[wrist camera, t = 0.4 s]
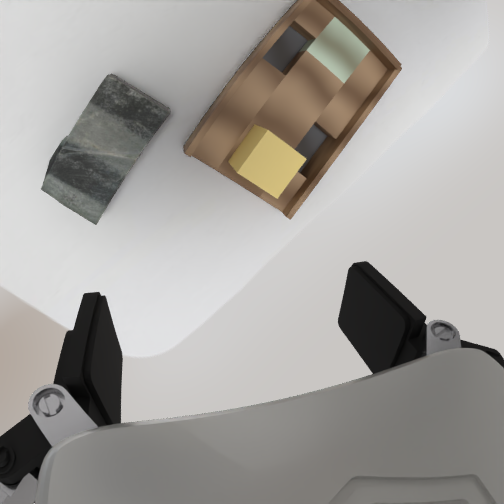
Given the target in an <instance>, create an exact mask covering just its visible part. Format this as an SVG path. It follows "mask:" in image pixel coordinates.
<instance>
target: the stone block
mask: <svg viewBox="0 0 504 504" xmlns="http://www.w3.org/2000/svg"><path fill="white" fill-rule="evenodd" d="M169 114H170V109H169V108H167V107H166V106H164V105H163V104H161V103H159V102H158V101H156V100H154V99H153V98H151V97H150V96H148V95H146V94H145V93H143V92H141V91H140V90H138V89H137V88H135V87H133V86H132V85H130V84H128V83H126V82H125V81H123V80H122V79H120V78H119V77H117V76H116V75H113V74H110V75H107V76H106V78H105V79H104V81H103V82H102V83H101V85H100V87H99V88H98V90H97V91H96V93H95V94H94V96H93V97H92V99H91V100H90V102H89V104H88V105H87V107H86V108H85V110H84V111H83V113H82V115H81V116H80V118H79V120H78V121H77V123H76V124H75V126H74V128H73V129H72V131H71V133H70V134H69V136H67V137H65V138H64V139H63V140H62V142H61V143H60V145H59V146H58V148H57V149H56V151H55V153H54V154H53V156H52V158H51V159H50V162H49V165H48V169H47V172H46V175H45V179H44V182H43V186H42V188H41V190H43V191H44V192H46V193H47V194H49V195H50V196H52V197H53V198H55V199H56V200H57V201H58V202H60V203H61V204H63V205H64V206H66V207H67V208H69V209H71V210H72V211H74V212H76V213H78V214H79V215H80V216H82V217H84V218H85V219H87V220H88V221H90V222H92V223H94V224H95V225H96V224H97V223H98V221H99V219H100V218H101V216H102V214H103V213H104V211H105V209H106V207H107V206H108V204H109V202H110V201H111V199H112V197H113V196H114V194H115V193H116V191H117V189H118V188H119V186H120V185H121V183H122V181H123V180H124V178H125V177H126V175H127V174H128V172H129V170H130V169H131V168H132V166H133V165H134V163H135V161H136V160H137V159H138V157H139V155H140V154H141V152H142V151H143V150H144V148H145V147H146V145H147V144H148V142H149V141H150V139H151V138H152V137H153V135H154V134H155V133H156V131H157V130H158V128H159V127H160V126H161V124H162V123H163V122H164V120H165V119H166V118H167V116H168V115H169Z"/></svg>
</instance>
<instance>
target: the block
mask: <svg viewBox="0 0 504 504" xmlns="http://www.w3.org/2000/svg"><path fill="white" fill-rule="evenodd" d="M305 161H306V158H305V157H303V156H302V155H301V154H300V153H298V152H297V151H296V150H294V149H293V148H292V147H290V146H289V145H288V144H286V143H285V142H284V141H282V140H281V139H280V138H278V137H277V136H276V135H274V134H273V133H272V132H270V131H269V130H267V129H265V128H262V127H260V126H257V125H254V126H253V127H252V129H251V130H250V131H249V133H248V134H247V136H246V137H245V138H244V140H243V141H242V142H241V144H240V145H239V147H238V148H237V149H236V151H235V152H234V154H233V155H232V157H231V158H230V159H229V161H228V162H229V163H230V165H231V166H232V167H233V168H234V170H235V171H236V172H237V173H238V174H240V175H241V176H243V177H244V178H246V179H247V180H249V181H251V182H252V183H254V184H255V185H257V186H258V187H260V188H261V189H263V190H264V191H266V192H267V193H269V194H270V195H272V196H274V197H275V198H277V199H278V197H279V196H280V195H281V193H282V192H283V191H284V189H285V188H286V186H287V185H288V184H289V182H290V181H291V180H292V178H293V177H294V176H295V174H296V173H297V172H298V170H299V169H300V168H301V166H302V165H303V163H304V162H305Z"/></svg>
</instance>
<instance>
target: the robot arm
mask: <svg viewBox="0 0 504 504" xmlns="http://www.w3.org/2000/svg"><path fill="white" fill-rule="evenodd" d="M425 320H426V316H425V315H424V314H423V313H422V312H421V311H420V310H419V309H418V308H417V307H416V306H414V304H412V302H411V301H409V300H408V299H407V298H406V297H405V296H404V295H403V294H402V293H401V292H400V291H399V290H398V289H397V288H396V287H395V286H393V284H391V283H390V282H389V281H388V280H387V279H386V278H385V277H384V276H383V275H382V274H381V273H379V272H378V271H377V270H376V269H375V268H374V267H373V266H372V265H371V264H369V263H368V262H366V261H364V262H357V263H353V265H352V266H351V267H350V268H349V270H348V274H347V280H346V285H345V290H344V295H343V300H342V304H341V309H340V313H339V318H338V324H339V327H340V328H341V330H342V331H343V333H344V334H345V335H346V337H347V338H348V340H349V341H350V342H351V344H352V345H353V346H354V348H355V349H356V351H357V352H358V353H359V355H360V356H361V358H362V359H363V360H364V362H365V363H366V365H367V366H368V367H369V369H370V370H371V372H372V373H373V374H372V375H369V376H366V377H362V378H359V379H356V380H352V381H349V382H346V383H342V384H339V385H335V386H332V387H328V388H325V389H321V390H317V391H313V392H309V393H306V394H302V395H297V396H293V397H289V398H285V399H281V400H276V401H271V402H266V403H262V404H256V405H251V406H247V407H241V408H236V409H230V410H224V411H217V412H211V413H204V414H197V415H189V416H182V417H174V418H166V419H157V420H147V421H137V422H129V423H121V382H122V381H121V380H122V360H123V358H122V351H121V348H120V345H119V342H118V338H117V335H116V332H115V328H114V325H113V321H112V318H111V314H110V311H109V307H108V303H107V299H106V297H105V296H101V294H100V293H99V292H93V293H85V294H84V295H83V298H82V301H81V305H80V308H79V311H78V315H77V319H76V322H75V326H74V329H73V330H70V331H68V332H67V333H66V335H65V339H64V343H63V346H62V350H61V354H60V358H59V362H58V366H57V370H56V375H55V379H54V384H48V385H44V386H42V387H40V388H38V389H37V390H36V391H34V393H33V394H32V395H31V397H30V399H29V402H28V406H29V407H28V409H29V411H30V414H29V415H28V416H27V417H26V418H24V419H23V420H21V421H20V422H19V423H17V424H16V425H15V426H14V427H12V428H11V429H10V430H8V431H7V432H6V433H4V434H3V435H2V436H0V504H33V503H35V504H504V359H503V357H502V356H501V355H500V353H499V352H498V351H497V350H495V349H492V348H488V347H485V346H481V345H478V344H474V343H470V342H467V341H463V340H460V335H459V331H458V330H457V329H456V328H455V327H454V326H453V325H452V324H450V323H448V322H446V321H442V320H433V321H431V322H429V324H428V325H426V324H425V323H424V322H425Z"/></svg>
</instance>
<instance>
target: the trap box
mask: <svg viewBox="0 0 504 504" xmlns="http://www.w3.org/2000/svg"><path fill="white" fill-rule="evenodd" d="M401 69H402V68H401V63H400V62H399V61H398V60H397V59H396V58H395V57H394V55H393V54H392V53H391V52H390V51H389V50H388V49H387V48H386V46H385V45H384V44H383V43H382V42H381V41H380V40H379V39H378V38H377V37H376V36H375V35H374V34H373V33H372V32H371V31H370V30H369V29H368V28H367V27H366V26H365V25H364V24H363V23H362V22H361V21H360V20H359V19H358V18H357V17H356V16H355V15H354V14H353V13H352V12H351V11H350V10H349V9H348V8H347V7H346V6H344V5H343V4H342V3H341V2H340V1H339V0H297V1H296V2H295V3H294V4H293V5H292V7H291V8H290V9H289V10H288V11H287V12H286V13H285V14H284V15H283V17H282V18H281V19H280V20H279V21H278V22H277V23H276V24H275V26H274V27H273V28H272V29H271V30H270V31H269V33H268V34H267V35H266V36H265V37H264V39H263V40H262V41H261V42H260V43H259V45H258V46H257V47H256V48H255V49H254V51H253V52H252V53H251V54H250V56H249V57H248V58H247V59H246V61H245V62H244V63H243V64H242V66H241V67H240V68H239V69H238V71H237V72H236V73H235V75H234V76H233V77H232V79H231V80H230V81H229V82H228V84H227V85H226V86H225V88H224V89H223V91H222V92H221V93H220V95H219V96H218V97H217V99H216V100H215V101H214V103H213V104H212V106H211V107H210V108H209V110H208V111H207V113H206V114H205V115H204V117H203V118H202V120H201V121H200V123H199V124H198V126H197V127H196V128H195V130H194V131H193V133H192V134H191V136H190V137H189V139H188V140H187V142H186V143H185V145H184V146H183V149H184V153H185V154H186V155H188V156H190V157H191V155H192V156H193V157H195V158H197V159H198V160H200V161H202V162H203V163H205V164H207V165H208V166H210V167H211V168H213V169H215V170H216V171H218V172H220V173H221V174H223V175H225V176H226V177H228V178H229V179H231V180H233V181H234V182H236V183H237V184H239V185H241V186H242V187H244V188H245V189H247V190H249V191H250V192H252V193H253V194H255V195H256V196H258V197H260V198H261V199H263V200H264V201H266V202H267V203H269V204H270V205H272V206H274V207H275V208H277V209H278V210H280V211H281V212H282V213H283V214H284V215H285V216H286V217H287V218H289V219H290V220H291V218H292V217H293V216H294V214H295V213H296V212H297V210H298V209H299V208H300V206H301V205H302V204H303V202H304V201H305V200H306V198H307V197H308V196H309V194H310V193H311V192H312V190H313V189H314V188H315V186H316V185H317V184H318V182H319V181H320V180H321V178H322V177H323V176H324V174H325V173H326V172H327V170H328V169H329V168H330V166H331V165H332V163H333V162H334V161H335V159H336V158H337V157H338V155H339V154H340V153H341V151H342V150H343V149H344V147H345V146H346V145H347V143H348V142H349V141H350V139H351V138H352V136H353V135H354V134H355V132H356V131H357V130H358V128H359V127H360V126H361V124H362V123H363V122H364V120H365V119H366V117H367V116H368V115H369V113H370V112H371V111H372V109H373V108H374V107H375V105H376V104H377V102H378V101H379V100H380V98H381V97H382V96H383V94H384V93H385V91H386V90H387V89H388V87H389V86H390V85H391V83H392V82H393V80H394V79H395V78H396V76H397V75H398V74H399V72H400V71H401ZM254 125H257V126H260V127H262V128H265V129H267V130H269V131H270V132H272V133H273V134H274V135H276V136H277V137H278V138H280V139H281V140H282V141H284V142H285V143H286V144H288V145H289V146H290V147H292V148H293V149H294V150H296V151H297V152H298V153H300V154H301V155H302V156H303V157H305V158H306V161H305V162H304V163H303V165H302V166H301V168H300V169H299V170H298V172H297V173H296V174H295V176H294V177H293V178H292V180H291V181H290V182H289V184H288V185H287V186H286V188H285V189H284V191H283V192H282V193H281V195H280V196H279V197H278V199H277V198H275V197H274V196H272V195H270V194H269V193H267V192H266V191H264V190H263V189H261V188H260V187H258V186H257V185H255V184H254V183H252V182H251V181H249V180H247V179H246V178H244V177H243V176H241V175H240V174H238V173H237V172H236V171H235V170H234V168H233V167H232V166H231V165H230V163H229V162H228V161H229V159H230V158H231V157H232V155H233V154H234V152H235V151H236V149H237V148H238V147H239V145H240V144H241V142H242V141H243V140H244V138H245V137H246V136H247V134H248V133H249V131H250V130H251V129H252V127H253V126H254Z"/></svg>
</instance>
